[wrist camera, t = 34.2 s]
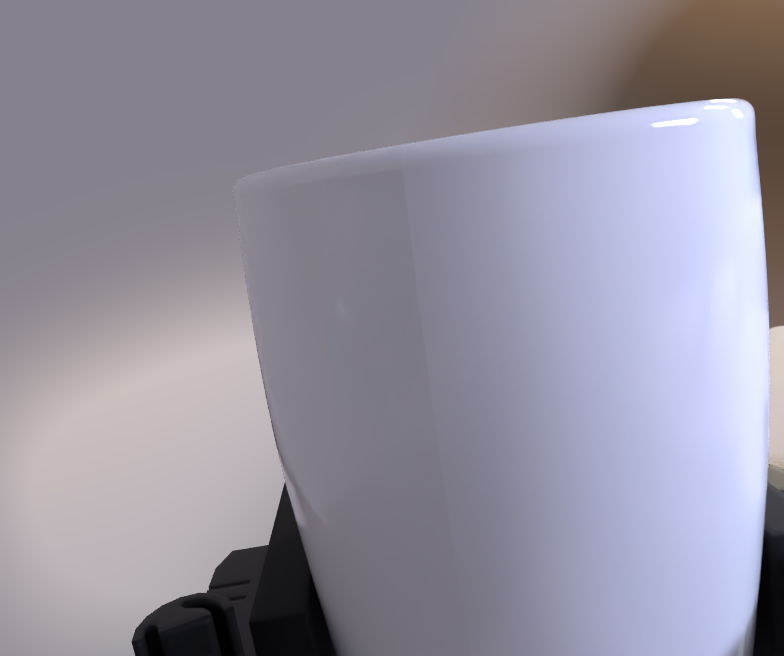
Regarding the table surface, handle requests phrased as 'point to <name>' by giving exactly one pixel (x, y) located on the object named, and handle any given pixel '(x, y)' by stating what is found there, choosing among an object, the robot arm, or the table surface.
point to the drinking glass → (524, 383)
